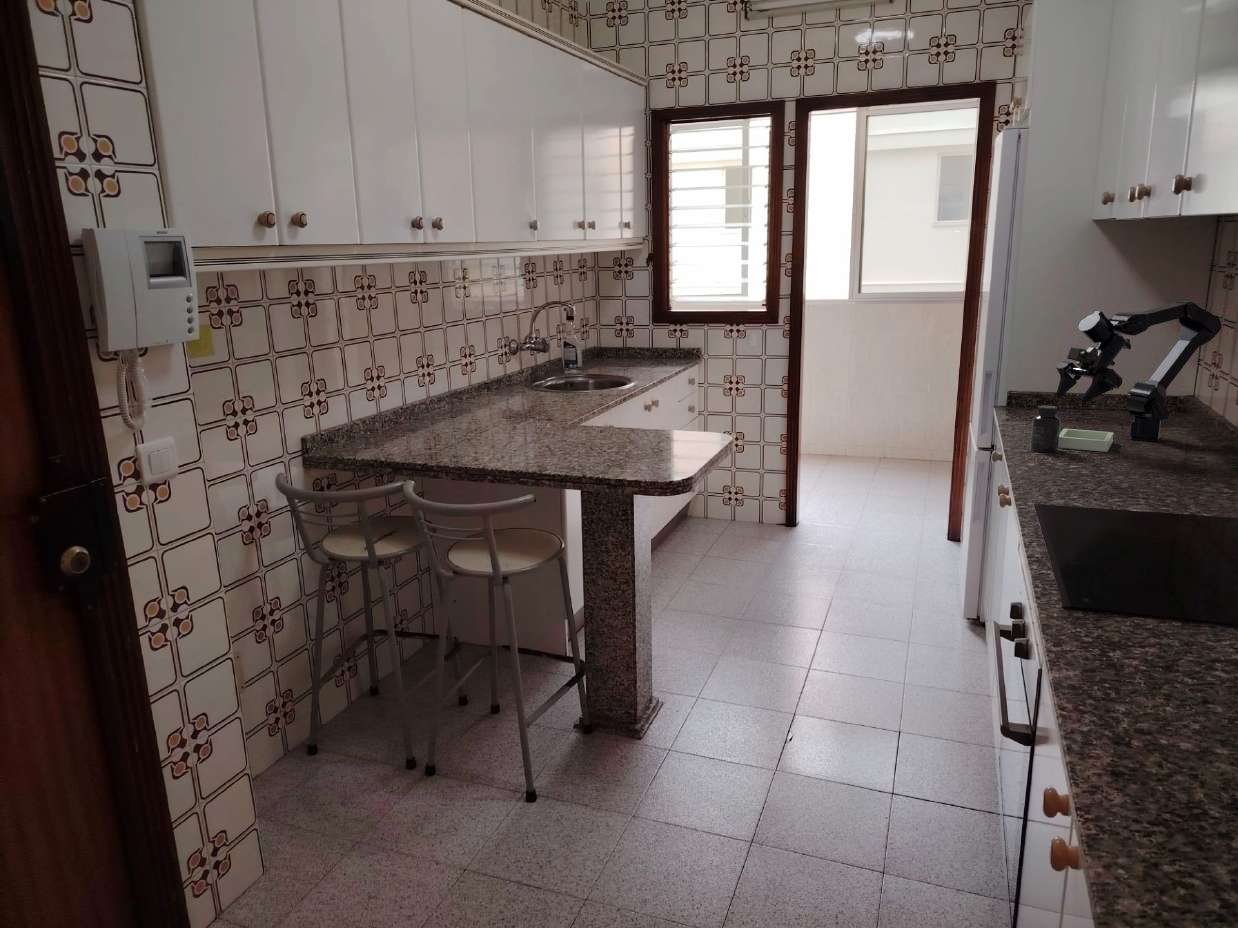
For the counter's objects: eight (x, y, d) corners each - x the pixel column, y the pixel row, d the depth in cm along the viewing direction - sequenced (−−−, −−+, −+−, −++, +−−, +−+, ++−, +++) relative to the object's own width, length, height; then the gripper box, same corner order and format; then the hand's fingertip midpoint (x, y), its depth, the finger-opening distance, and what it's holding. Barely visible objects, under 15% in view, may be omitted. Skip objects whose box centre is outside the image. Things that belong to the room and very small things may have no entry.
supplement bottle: (1062, 452, 228) (1066, 408, 225) (1036, 453, 229) (1040, 409, 226) (1050, 446, 235) (1054, 404, 232) (1025, 447, 235) (1029, 404, 232)
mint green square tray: (1112, 442, 237) (1113, 432, 236) (1107, 451, 227) (1108, 441, 227) (1063, 438, 244) (1063, 428, 243) (1056, 447, 234) (1057, 436, 234)
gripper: (1061, 332, 236) (1027, 378, 237) (1114, 338, 219) (1077, 387, 220) (1085, 356, 240) (1051, 400, 241) (1139, 363, 222) (1102, 411, 223)
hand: (1069, 399), depth 231 cm, fingers open, 9 cm apart
